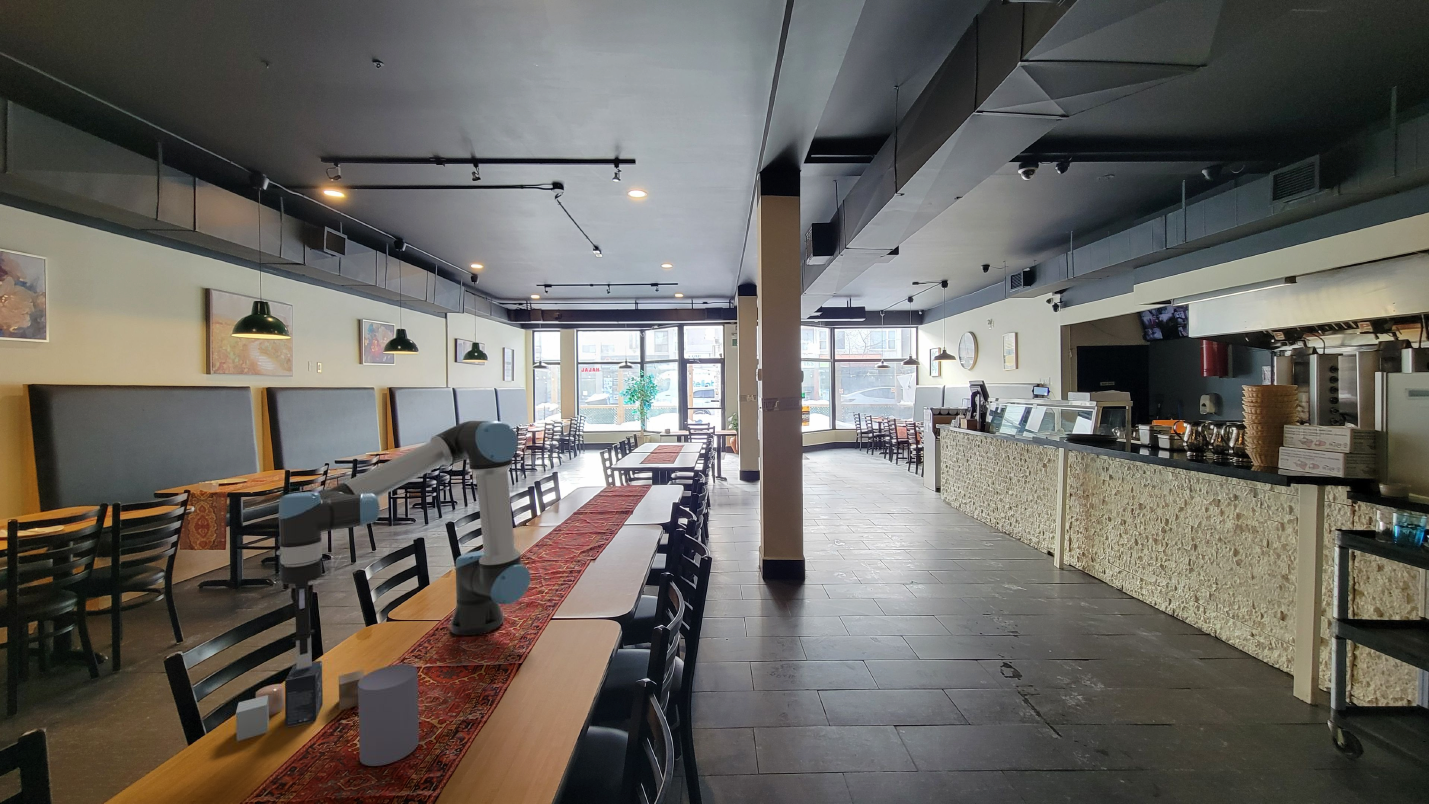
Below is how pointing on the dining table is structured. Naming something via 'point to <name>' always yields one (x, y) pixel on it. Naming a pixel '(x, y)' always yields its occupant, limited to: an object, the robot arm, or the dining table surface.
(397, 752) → the container
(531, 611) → the dining table surface
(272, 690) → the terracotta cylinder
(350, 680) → the walnut block
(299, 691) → the box
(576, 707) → the dining table surface
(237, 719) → the slate block
